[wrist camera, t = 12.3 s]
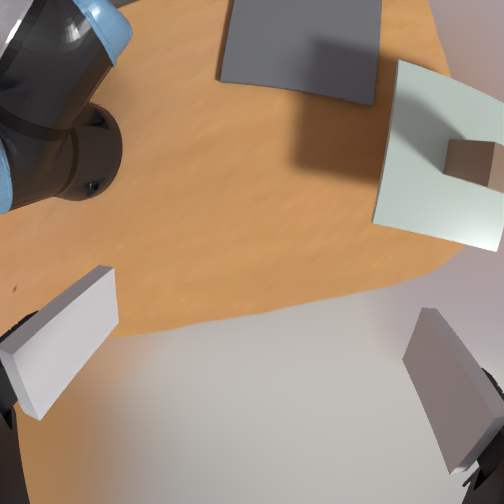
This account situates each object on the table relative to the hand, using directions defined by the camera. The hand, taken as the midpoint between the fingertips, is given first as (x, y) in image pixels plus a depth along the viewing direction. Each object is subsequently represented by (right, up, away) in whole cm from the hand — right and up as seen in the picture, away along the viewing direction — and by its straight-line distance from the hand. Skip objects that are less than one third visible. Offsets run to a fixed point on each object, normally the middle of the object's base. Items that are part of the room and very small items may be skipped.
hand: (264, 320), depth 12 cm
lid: (+22, +13, +16) cm, 30 cm away
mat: (+7, +33, +21) cm, 40 cm away
